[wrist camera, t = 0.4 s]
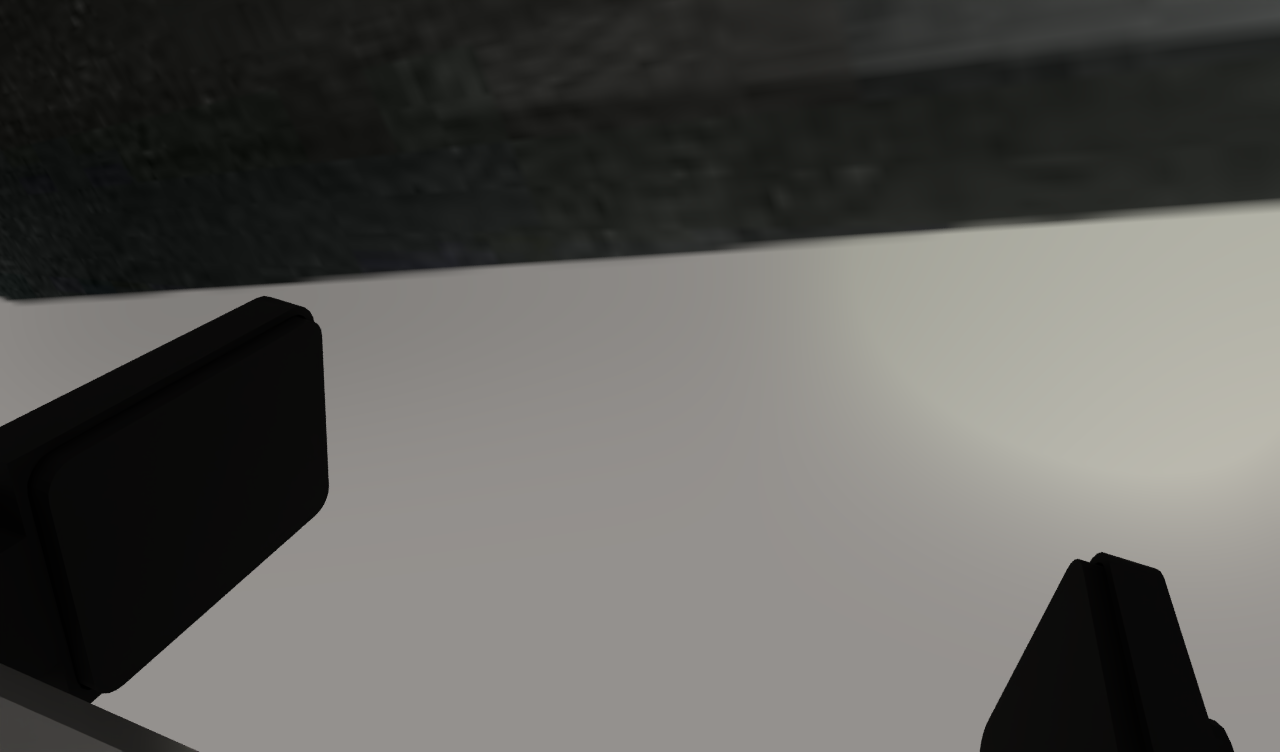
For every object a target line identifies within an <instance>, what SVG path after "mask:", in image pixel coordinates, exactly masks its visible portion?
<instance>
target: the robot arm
mask: <svg viewBox="0 0 1280 752" xmlns="http://www.w3.org/2000/svg"><path fill="white" fill-rule="evenodd" d="M328 490H329V479H328V457H327V434H326V412H325V392H324V368H323V346H322V333H321V329H320V327H319V325H318V324H317V323H315V322H314V320H313V316H312V314H311V313H310V311H309V310H307V309H306V308H305V307H301V306H298V305H295V304H292V303H288V302H285V301H282V300H279V299H275V298H272V297H267V296H262V297H259V298H256V299H254V300H252V301H250V302H248V303H246V304H244V305H242V306H240V307H238V308H236V309H234V310H232V311H230V312H228V313H226V314H224V315H222V316H220V317H218V318H216V319H214V320H212V321H210V322H208V323H206V324H204V325H202V326H200V327H198V328H196V329H194V330H192V331H190V332H188V333H186V334H184V335H182V336H180V337H178V338H176V339H174V340H172V341H170V342H168V343H166V344H164V345H162V346H160V347H158V348H156V349H154V350H152V351H150V352H148V353H146V354H144V355H142V356H140V357H139V358H136V359H135V360H132V361H130V362H128V363H126V364H124V365H122V366H120V367H119V368H116V369H114V370H112V371H111V372H108V373H107V374H105V375H103V376H101V377H99V378H97V379H95V380H93V381H91V382H89V383H87V384H85V385H83V386H81V387H79V388H77V389H75V390H73V391H71V392H69V393H67V394H65V395H63V396H61V397H59V398H57V399H55V400H53V401H51V402H49V403H47V404H45V405H43V406H41V407H39V408H37V409H35V410H33V411H31V412H29V413H27V414H25V415H23V416H21V417H19V418H17V419H15V420H13V421H11V422H9V423H7V424H5V425H3V426H1V427H0V752H198V751H196V750H194V749H191V748H189V747H187V746H185V745H183V744H180V743H178V742H176V741H173V740H171V739H169V738H167V737H164V736H162V735H160V734H158V733H156V732H153V731H151V730H149V729H147V728H144V727H142V726H140V725H138V724H135V723H133V722H131V721H129V720H126V719H124V718H122V717H120V716H117V715H115V714H113V713H111V712H108V711H106V710H104V709H102V708H99V707H97V706H95V705H93V704H90V703H92V702H93V701H94V700H95V699H96V698H97V697H98V696H100V695H101V694H102V693H110V692H113V691H115V690H117V689H119V688H120V687H121V686H123V685H124V684H125V683H126V682H127V681H129V680H130V679H131V678H132V677H133V676H134V675H135V674H136V673H138V672H139V671H140V670H141V669H142V668H143V667H144V666H146V665H147V664H148V663H149V662H150V661H151V660H152V659H153V658H154V657H156V656H157V655H158V654H159V653H160V652H161V651H162V650H164V649H165V648H166V647H167V646H168V645H169V644H170V643H172V642H173V641H174V640H175V639H176V638H177V637H178V636H179V635H181V634H182V633H183V632H184V631H185V630H186V629H187V628H188V627H190V626H191V625H192V624H193V623H194V622H195V621H196V620H198V619H199V618H200V617H201V616H202V615H203V614H204V613H206V612H207V611H208V610H209V609H210V608H211V607H212V606H213V605H215V604H216V603H217V602H218V601H219V600H220V599H221V598H222V597H224V596H225V595H226V594H227V593H228V592H229V591H230V590H231V589H233V588H234V587H235V586H236V585H237V584H238V583H239V582H241V581H242V580H243V579H244V578H245V577H246V576H247V575H249V574H250V573H251V572H252V571H253V570H254V569H255V568H256V567H258V566H259V565H260V564H261V563H262V562H263V561H264V560H265V559H267V558H268V557H269V556H270V555H271V554H272V553H273V552H275V551H276V550H277V549H278V548H279V547H280V546H281V545H282V544H284V543H285V542H286V541H287V540H288V539H289V538H290V537H292V536H293V535H294V534H295V533H296V532H297V531H298V530H300V529H301V528H302V527H303V526H304V525H305V524H306V523H307V522H308V521H310V520H311V519H312V518H313V517H314V516H315V515H316V514H317V513H318V512H319V511H320V510H321V508H322V507H323V505H324V503H325V501H326V498H327V495H328ZM980 752H1234V750H1233V747H1232V745H1231V742H1230V740H1229V738H1228V736H1227V734H1226V732H1225V730H1224V728H1223V727H1222V726H1220V725H1219V724H1218V723H1217V722H1216V721H1215V720H1212V719H1209V718H1208V715H1207V712H1206V709H1205V706H1204V702H1203V699H1202V696H1201V693H1200V690H1199V687H1198V683H1197V680H1196V677H1195V674H1194V671H1193V668H1192V665H1191V662H1190V658H1189V655H1188V652H1187V649H1186V645H1185V643H1184V639H1183V636H1182V633H1181V630H1180V627H1179V623H1178V620H1177V617H1176V614H1175V611H1174V608H1173V604H1172V601H1171V598H1170V595H1169V592H1168V589H1167V585H1166V582H1165V579H1164V577H1163V575H1162V573H1161V572H1160V571H1159V570H1157V569H1155V568H1152V567H1149V566H1145V565H1142V564H1139V563H1136V562H1132V561H1129V560H1126V559H1123V558H1120V557H1116V556H1113V555H1110V554H1107V553H1103V552H1101V553H1098V554H1096V555H1095V556H1094V557H1093V558H1092V560H1091V561H1090V562H1086V561H1083V560H1080V559H1076V560H1074V561H1073V562H1072V563H1071V564H1070V565H1069V567H1068V569H1067V570H1066V573H1065V574H1064V576H1063V578H1062V580H1061V582H1060V584H1059V586H1058V588H1057V590H1056V592H1055V593H1054V595H1053V598H1052V599H1051V601H1050V603H1049V605H1048V607H1047V609H1046V611H1045V613H1044V615H1043V616H1042V619H1041V620H1040V622H1039V624H1038V626H1037V628H1036V630H1035V632H1034V634H1033V636H1032V638H1031V640H1030V641H1029V643H1028V645H1027V647H1026V649H1025V651H1024V653H1023V655H1022V657H1021V659H1020V661H1019V663H1018V665H1017V667H1016V668H1015V670H1014V672H1013V674H1012V676H1011V678H1010V680H1009V682H1008V684H1007V686H1006V687H1005V689H1004V692H1003V693H1002V695H1001V697H1000V699H999V701H998V703H997V705H996V707H995V709H994V710H993V712H992V714H991V716H990V718H989V721H988V722H987V724H986V727H985V730H984V733H983V737H982V741H981V747H980Z"/></svg>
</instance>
